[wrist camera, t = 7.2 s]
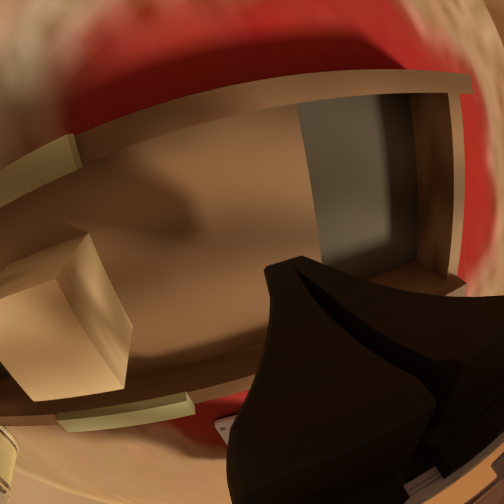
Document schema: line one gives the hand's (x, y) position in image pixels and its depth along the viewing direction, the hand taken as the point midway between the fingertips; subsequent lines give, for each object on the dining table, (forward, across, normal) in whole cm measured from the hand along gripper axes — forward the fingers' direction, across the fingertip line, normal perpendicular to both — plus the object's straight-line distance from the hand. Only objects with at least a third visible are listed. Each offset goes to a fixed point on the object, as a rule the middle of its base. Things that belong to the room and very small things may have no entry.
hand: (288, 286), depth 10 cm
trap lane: (+6, +5, 0) cm, 8 cm away
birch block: (+4, +9, 0) cm, 10 cm away
